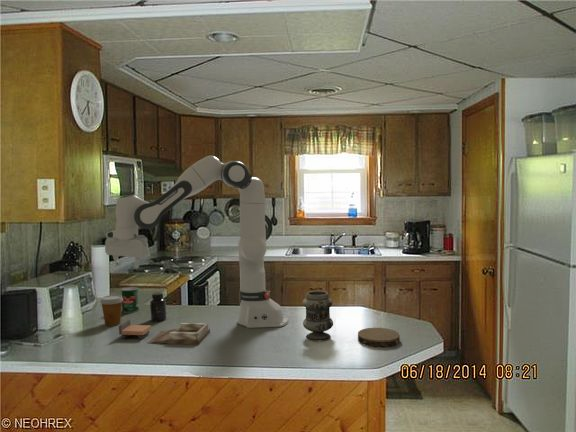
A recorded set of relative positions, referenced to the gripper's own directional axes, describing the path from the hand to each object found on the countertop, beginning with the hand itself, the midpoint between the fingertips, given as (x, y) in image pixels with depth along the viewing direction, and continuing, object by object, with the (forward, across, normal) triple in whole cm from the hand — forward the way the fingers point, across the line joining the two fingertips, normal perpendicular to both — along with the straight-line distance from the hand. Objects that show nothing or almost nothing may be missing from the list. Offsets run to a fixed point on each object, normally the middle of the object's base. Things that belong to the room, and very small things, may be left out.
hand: (126, 267), depth 202 cm
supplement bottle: (+27, -1, -20) cm, 34 cm away
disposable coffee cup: (+28, +14, -7) cm, 32 cm away
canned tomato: (+28, +22, -28) cm, 45 cm away
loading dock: (+28, -25, -2) cm, 37 cm away
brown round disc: (+24, -100, -26) cm, 107 cm away
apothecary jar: (+25, -77, -22) cm, 84 cm away
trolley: (+27, -7, +3) cm, 29 cm away
